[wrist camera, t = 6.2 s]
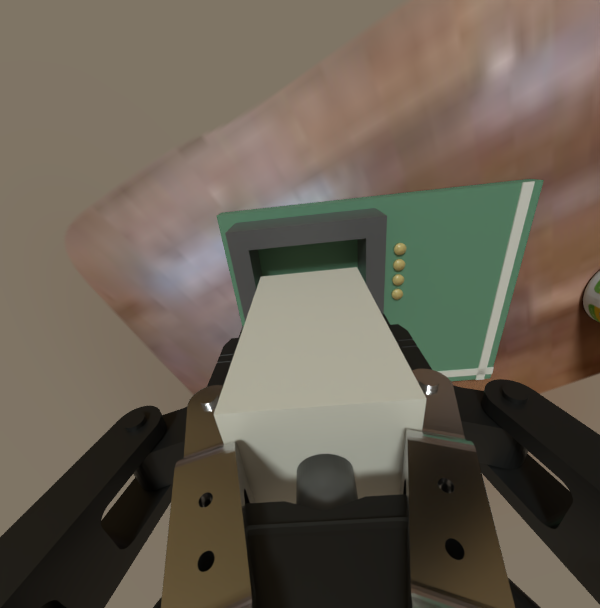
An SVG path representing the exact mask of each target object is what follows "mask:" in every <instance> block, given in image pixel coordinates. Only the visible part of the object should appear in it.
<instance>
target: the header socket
mask: <svg viewBox="0 0 600 608" xmlns="http://www.w3.org/2000/svg"><path fill="white" fill-rule="evenodd" d="M386 233H387V215H385V214H384V213H382V212H381V211H379V210H377V209H376V208H370V209H360V210H351V211H342V212H332V213H323V214H314V215H305V216H295V217H286V218H277V219H267V220H258V221H249V222H240V223H235V224H234V225H233V226H232V227H231V228H230V229H229V230H228V231H227V232H226V233H225V235H226V239H227V243H228V248H229V252H230V257H231V261H232V265H233V270H234V274H235V279H236V283H237V287H238V292H239V296H240V301H241V305H242V310H243V314H244V318H245V321H246V318H247V315H248V312H249V310H250V307H251V304H252V301H253V298H254V295H255V292H256V289H257V286H258V283H259V280H260V277H263V276H262V271H261V265H260V259H259V254H258V249H267V248H277V247H287V246H296V245H306V244H316V243H326V242H335V241H345V240H355V239H358V270H359V272H360V274H361V276H362V278H363V280H364V281H365V283H366V285H367V287H368V289H369V291H370V293H371V295H372V297H373V298H374V300H375V302H376V304H377V306H378V308H379V310H380V312H381V314H384V287H385V260H386ZM394 252H395V253H396V254H397V255H402V254H404V253H405V252H406V246H405V245H404V244H403V243H397V244H396V245H395V246H394ZM404 267H405V262H404V261H403V260H402V259H396V260H395V261H394V262H393V268H394V269H395V270H397V271H400V270H402V269H404ZM392 282H393V283H394V284H395V285H401V284H402V283H403V282H404V277H403V276H402V275H401V274H396V275H394V276H393V278H392ZM391 295H392V297H393V298H394V299H396V300H398V299H400V298H402V296H403V292H402V290H401V289H398V288H397V289H394V290H393V291H392V293H391Z"/></svg>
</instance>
